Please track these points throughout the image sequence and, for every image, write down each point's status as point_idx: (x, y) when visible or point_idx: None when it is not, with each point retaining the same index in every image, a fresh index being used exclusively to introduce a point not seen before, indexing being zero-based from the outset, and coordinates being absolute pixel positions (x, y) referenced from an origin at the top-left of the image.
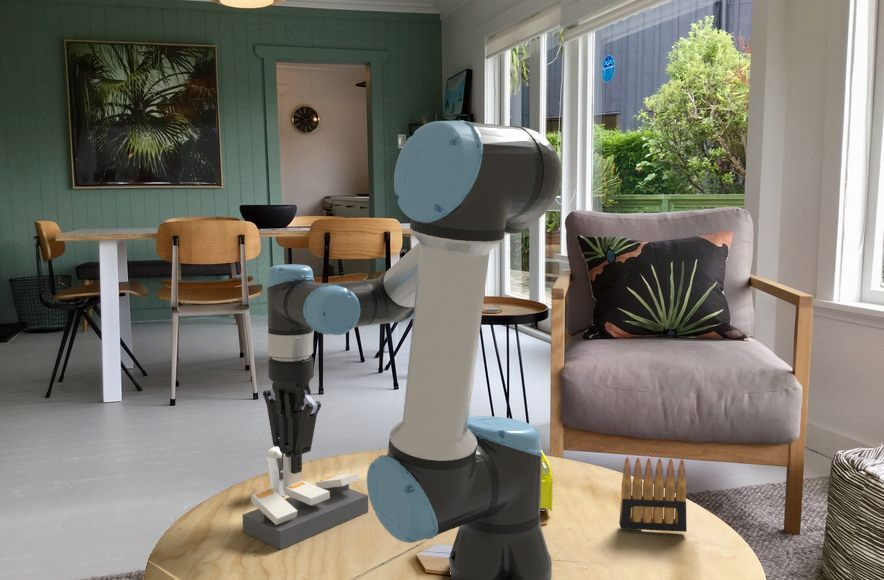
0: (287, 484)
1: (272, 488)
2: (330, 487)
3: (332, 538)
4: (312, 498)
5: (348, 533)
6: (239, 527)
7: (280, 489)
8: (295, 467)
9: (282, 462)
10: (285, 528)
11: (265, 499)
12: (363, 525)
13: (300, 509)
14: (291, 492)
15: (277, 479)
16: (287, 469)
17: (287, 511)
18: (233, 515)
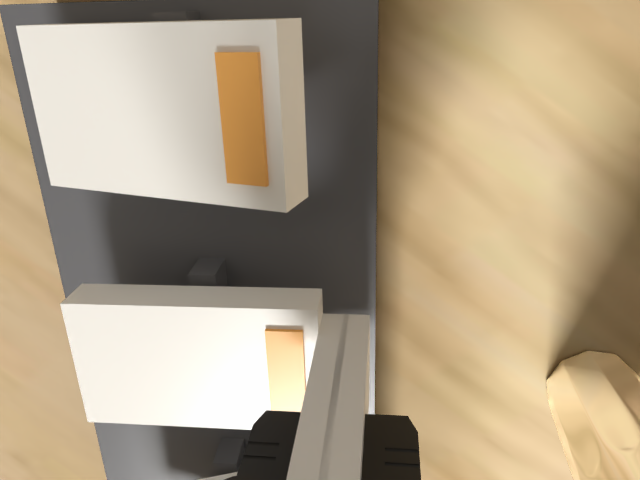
0: (324, 341)
1: (618, 375)
2: (215, 477)
3: (22, 238)
4: (65, 311)
5: (24, 307)
6: (444, 17)
7: (569, 390)
8: (246, 448)
9: (412, 456)
10: (18, 52)
11: (196, 84)
12: (53, 385)
13: (189, 261)
14: (250, 301)
15: (601, 419)
16: (309, 409)
17: (57, 129)
18: (604, 88)
